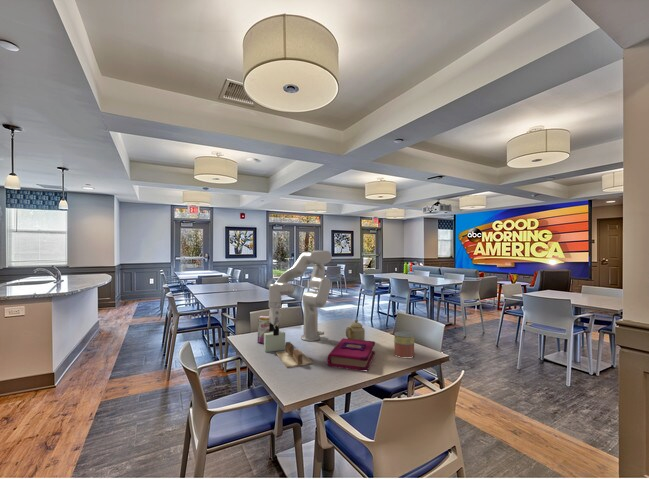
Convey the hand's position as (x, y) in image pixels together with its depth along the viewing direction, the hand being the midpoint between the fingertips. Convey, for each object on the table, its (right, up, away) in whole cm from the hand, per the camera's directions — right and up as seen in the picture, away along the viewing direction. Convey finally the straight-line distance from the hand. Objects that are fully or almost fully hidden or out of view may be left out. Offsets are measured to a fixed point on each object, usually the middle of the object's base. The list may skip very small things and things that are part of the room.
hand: (273, 333), depth 180 cm
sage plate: (0, -10, 0) cm, 10 cm away
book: (+46, -11, -13) cm, 49 cm away
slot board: (+13, -10, -14) cm, 21 cm away
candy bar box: (-7, -10, +13) cm, 18 cm away
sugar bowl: (+51, -11, +15) cm, 54 cm away
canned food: (+77, -11, -6) cm, 78 cm away
